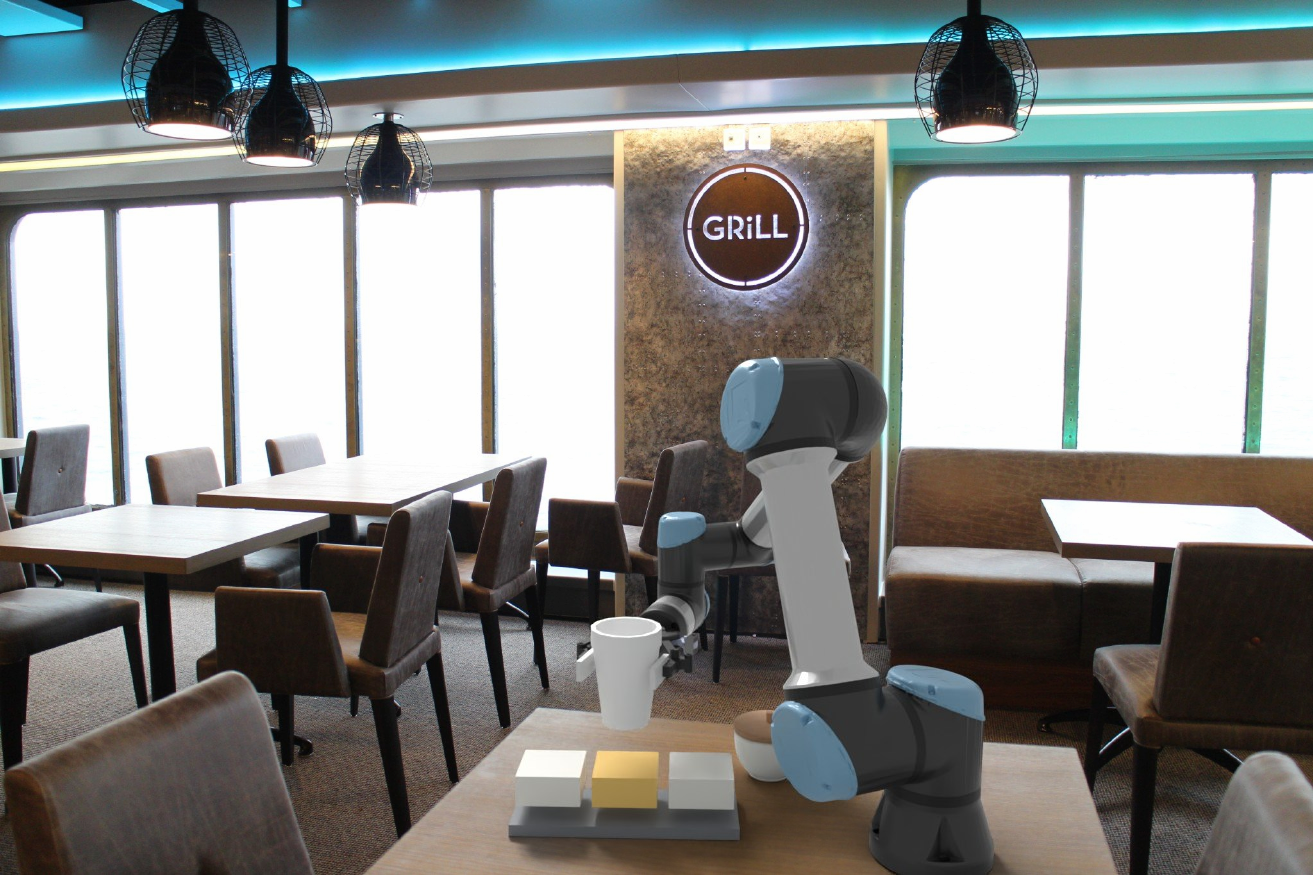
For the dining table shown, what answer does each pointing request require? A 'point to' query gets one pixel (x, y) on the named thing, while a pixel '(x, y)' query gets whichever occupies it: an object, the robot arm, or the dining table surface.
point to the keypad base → (626, 821)
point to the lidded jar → (757, 745)
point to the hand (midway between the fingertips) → (615, 675)
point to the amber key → (625, 779)
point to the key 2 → (701, 781)
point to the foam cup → (625, 669)
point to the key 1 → (551, 778)
